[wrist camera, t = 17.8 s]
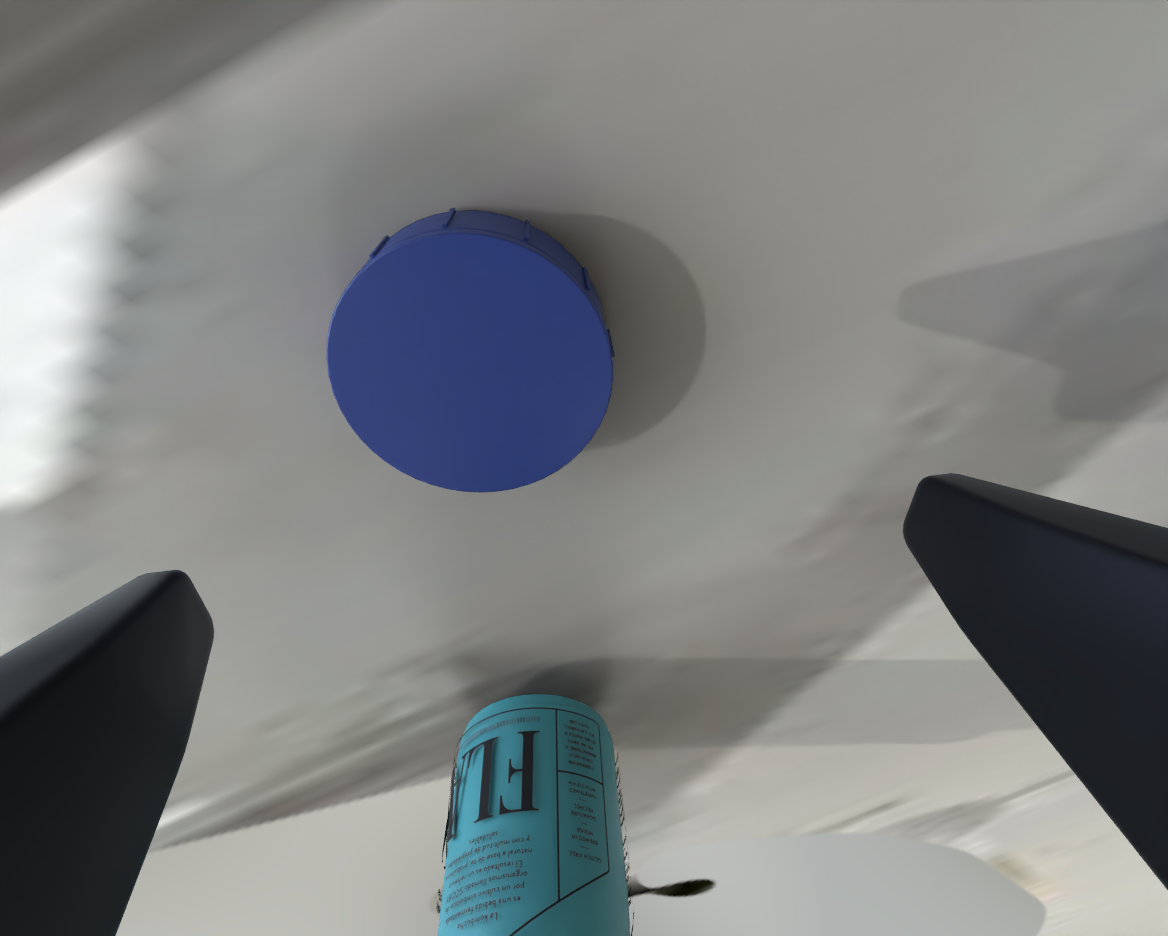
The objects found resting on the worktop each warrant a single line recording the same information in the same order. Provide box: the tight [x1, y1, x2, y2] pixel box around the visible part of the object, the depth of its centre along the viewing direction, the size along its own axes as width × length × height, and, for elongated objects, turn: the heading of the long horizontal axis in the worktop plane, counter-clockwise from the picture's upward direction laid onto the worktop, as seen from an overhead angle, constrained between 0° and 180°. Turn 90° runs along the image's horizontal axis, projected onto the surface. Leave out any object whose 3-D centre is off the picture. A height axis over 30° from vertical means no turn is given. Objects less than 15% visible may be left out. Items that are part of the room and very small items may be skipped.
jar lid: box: [327, 208, 614, 492], centre depth 17 cm, size 7×7×2 cm
